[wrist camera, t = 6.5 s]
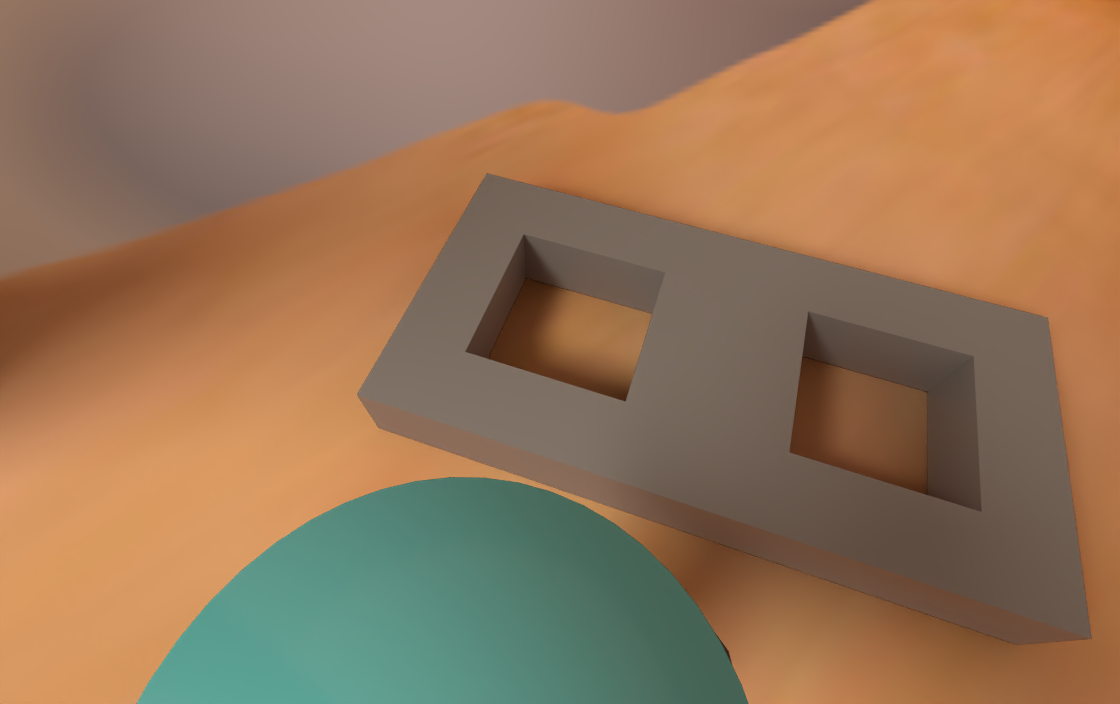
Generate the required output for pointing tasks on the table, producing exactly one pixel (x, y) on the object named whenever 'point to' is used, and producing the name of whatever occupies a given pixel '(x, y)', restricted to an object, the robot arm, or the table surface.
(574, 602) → the teal round-top peg
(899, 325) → the rack
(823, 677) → the table surface
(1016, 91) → the table surface
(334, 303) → the table surface
